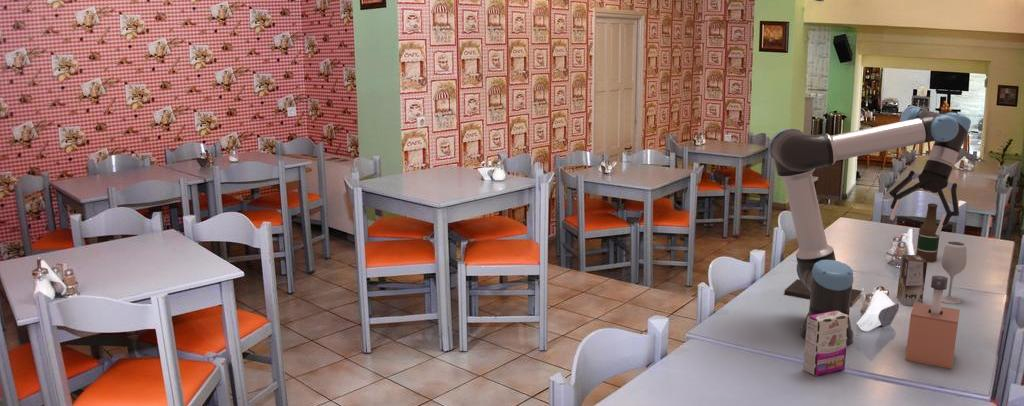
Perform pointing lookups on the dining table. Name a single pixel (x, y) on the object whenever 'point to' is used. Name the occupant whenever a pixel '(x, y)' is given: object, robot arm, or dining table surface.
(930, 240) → the beer bottle
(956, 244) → the wineglass
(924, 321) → the slotted cardboard box
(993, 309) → the dining table surface
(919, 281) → the coffee box
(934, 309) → the pump plunger
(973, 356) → the dining table surface
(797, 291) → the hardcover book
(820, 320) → the candy bar box
